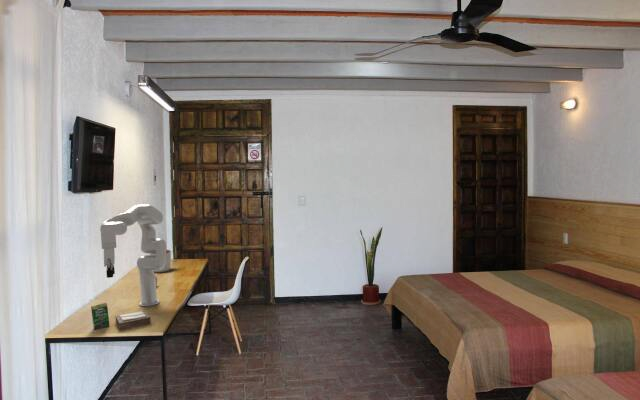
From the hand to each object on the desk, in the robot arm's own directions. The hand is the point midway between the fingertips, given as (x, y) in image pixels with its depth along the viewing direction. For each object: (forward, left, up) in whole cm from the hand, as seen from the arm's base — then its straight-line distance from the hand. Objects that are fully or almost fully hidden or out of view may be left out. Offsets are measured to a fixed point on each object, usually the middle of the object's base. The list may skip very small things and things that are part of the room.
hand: (110, 275), depth 259 cm
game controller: (-71, +35, -28) cm, 84 cm away
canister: (-130, +55, -28) cm, 144 cm away
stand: (+5, +9, -28) cm, 30 cm away
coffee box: (+1, -7, -28) cm, 29 cm away
